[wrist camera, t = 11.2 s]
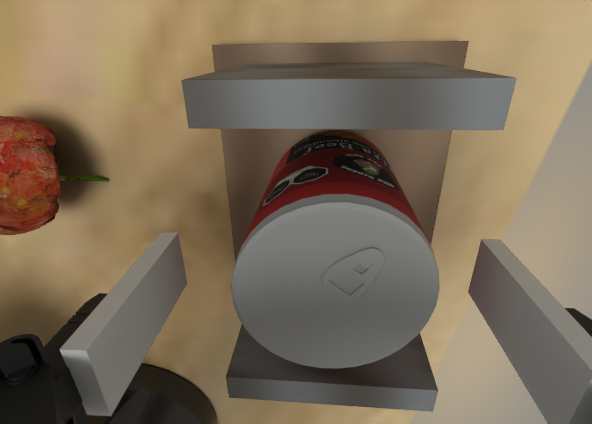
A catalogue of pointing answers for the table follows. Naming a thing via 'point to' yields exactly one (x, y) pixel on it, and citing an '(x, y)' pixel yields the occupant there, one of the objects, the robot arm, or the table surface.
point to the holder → (352, 119)
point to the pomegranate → (29, 176)
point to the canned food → (334, 258)
